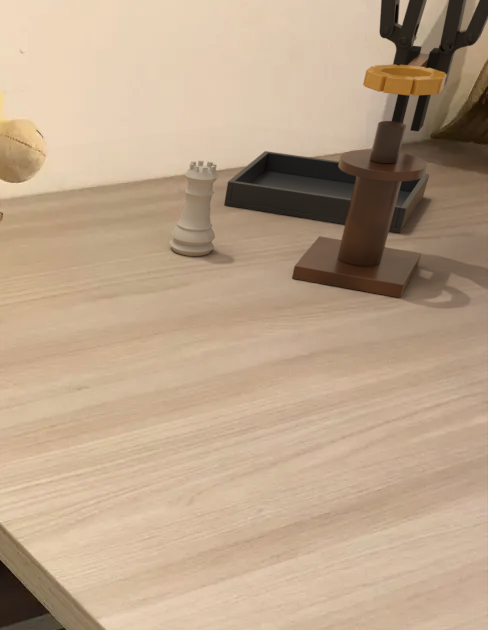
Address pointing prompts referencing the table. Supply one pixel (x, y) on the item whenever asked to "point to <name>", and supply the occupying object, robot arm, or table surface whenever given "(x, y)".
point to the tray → (309, 189)
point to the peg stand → (368, 222)
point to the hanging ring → (406, 78)
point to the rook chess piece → (196, 212)
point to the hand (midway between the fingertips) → (406, 126)
